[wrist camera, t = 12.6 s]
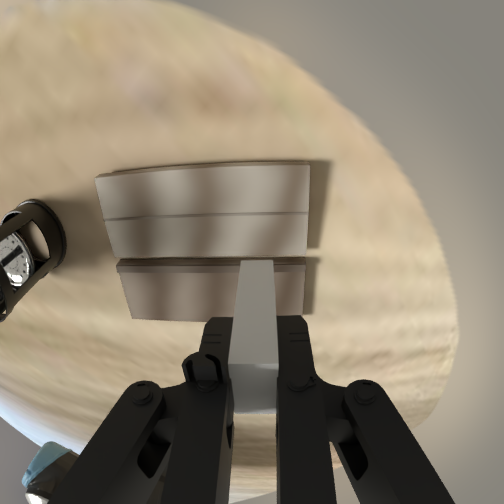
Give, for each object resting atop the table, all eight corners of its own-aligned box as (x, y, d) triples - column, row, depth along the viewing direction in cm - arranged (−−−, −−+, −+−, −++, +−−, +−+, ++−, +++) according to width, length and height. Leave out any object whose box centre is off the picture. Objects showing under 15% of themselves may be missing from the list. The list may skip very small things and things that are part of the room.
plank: (118, 251, 32) (114, 257, 31) (99, 174, 27) (93, 178, 26) (304, 248, 31) (306, 255, 30) (308, 161, 26) (310, 165, 25)
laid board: (135, 312, 36) (131, 320, 35) (120, 259, 33) (115, 265, 31) (301, 314, 35) (302, 323, 34) (304, 257, 32) (305, 264, 30)
